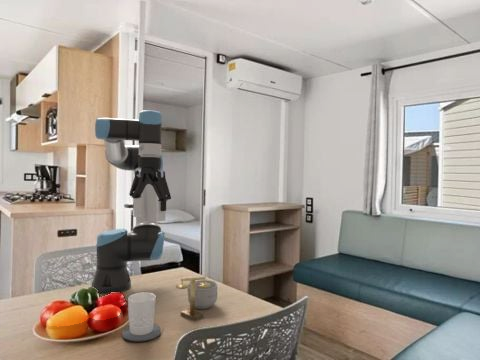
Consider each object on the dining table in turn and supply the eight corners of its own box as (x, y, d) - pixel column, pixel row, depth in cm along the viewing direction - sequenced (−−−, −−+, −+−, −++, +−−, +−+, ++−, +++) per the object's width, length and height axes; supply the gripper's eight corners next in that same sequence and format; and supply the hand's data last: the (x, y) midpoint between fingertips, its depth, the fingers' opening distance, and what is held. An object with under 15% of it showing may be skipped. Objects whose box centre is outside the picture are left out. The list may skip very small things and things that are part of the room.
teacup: (212, 313, 123) (212, 290, 123) (182, 310, 126) (182, 287, 125) (222, 299, 137) (222, 278, 137) (195, 296, 139) (195, 275, 139)
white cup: (144, 322, 112) (145, 290, 112) (160, 329, 107) (161, 296, 107) (122, 330, 106) (122, 297, 106) (138, 339, 101) (138, 303, 101)
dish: (114, 334, 106) (114, 330, 106) (146, 323, 114) (146, 319, 114) (136, 347, 99) (136, 343, 99) (168, 334, 107) (168, 330, 107)
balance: (173, 312, 124) (174, 270, 123) (182, 308, 127) (182, 268, 126) (203, 324, 114) (204, 279, 114) (211, 320, 117) (212, 276, 117)
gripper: (119, 156, 128) (119, 215, 129) (164, 155, 112) (162, 223, 113) (137, 157, 134) (137, 214, 135) (182, 156, 118) (181, 221, 119)
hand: (148, 218), depth 124 cm, fingers open, 13 cm apart
